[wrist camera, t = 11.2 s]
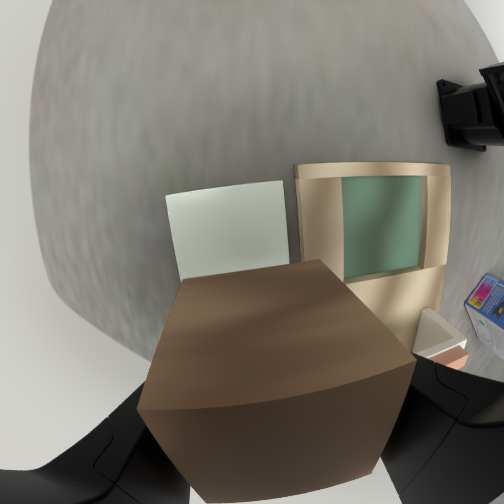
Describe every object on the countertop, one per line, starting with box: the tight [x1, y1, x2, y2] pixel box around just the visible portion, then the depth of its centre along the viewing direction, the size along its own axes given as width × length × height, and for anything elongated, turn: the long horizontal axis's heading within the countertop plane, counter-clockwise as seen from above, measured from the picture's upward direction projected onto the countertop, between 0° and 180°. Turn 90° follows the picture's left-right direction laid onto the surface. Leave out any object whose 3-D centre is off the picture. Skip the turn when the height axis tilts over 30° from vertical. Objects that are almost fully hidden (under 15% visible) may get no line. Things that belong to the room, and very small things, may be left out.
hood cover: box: [412, 307, 469, 370], centre depth 18 cm, size 11×7×7 cm, turn 96°
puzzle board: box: [294, 162, 451, 352], centre depth 21 cm, size 14×20×1 cm
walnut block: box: [137, 259, 417, 503], centre depth 7 cm, size 4×4×6 cm
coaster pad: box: [165, 180, 289, 283], centre depth 19 cm, size 8×8×1 cm
